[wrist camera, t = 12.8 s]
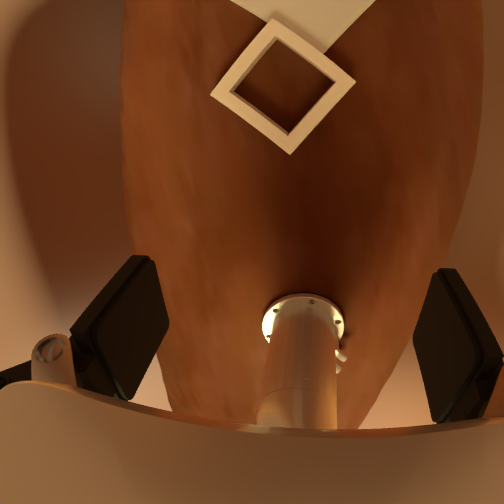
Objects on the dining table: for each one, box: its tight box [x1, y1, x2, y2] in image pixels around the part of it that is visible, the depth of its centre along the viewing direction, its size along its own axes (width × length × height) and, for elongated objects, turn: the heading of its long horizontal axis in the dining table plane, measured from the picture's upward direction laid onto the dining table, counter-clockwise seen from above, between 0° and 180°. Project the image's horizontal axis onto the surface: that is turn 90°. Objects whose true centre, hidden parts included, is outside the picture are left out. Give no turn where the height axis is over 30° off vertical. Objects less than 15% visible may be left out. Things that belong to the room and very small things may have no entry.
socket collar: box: [210, 18, 356, 155], centre depth 30 cm, size 11×11×2 cm
